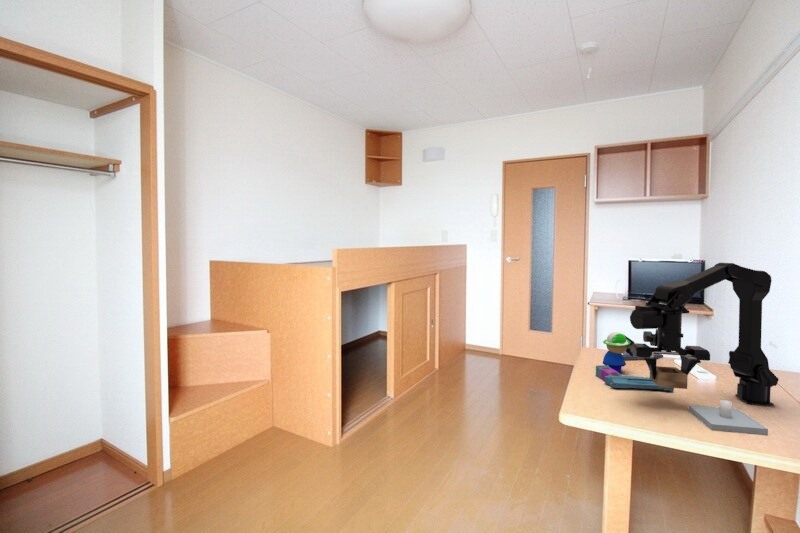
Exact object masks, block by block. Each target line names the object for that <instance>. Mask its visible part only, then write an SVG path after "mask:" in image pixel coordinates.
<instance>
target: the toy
mask: <svg viewBox="0 0 800 533" xmlns="http://www.w3.org/2000/svg"><path fill="white" fill-rule="evenodd" d="M602 342H603V344H604V345H606V349H607V350H608V351H607V352H606V353H605V354H604V356H603V360H602V365H609V367H610V368H612V369H614V370H616V371H618V372H619V374H621V375H622V368H623V367H626V366H627V362H626V360H625V358H624V355H623V353H627V354H629V356H631V357H632V358H633V356H634V354H633V353H632V352H630V346H631V345H632V344H633V343H635V341H634V340H632V339H631V338H629V337H628V336H626V335H625V334H623V333H620V332H618V331H616V332H611V333H609V334H608V335H607V337H606V339H604V340H603V341H602Z"/></svg>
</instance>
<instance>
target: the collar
mask: <svg viewBox="0 0 800 533" xmlns="http://www.w3.org/2000/svg"><path fill="white" fill-rule="evenodd" d="M688 376H689V374H688V375H686V374H685V373H684V372H682V371H681V369H679V368H677V367H674V366H661V365H660V366H659V365H656V378H655V380H654V379H653V378H652V376H651V373H650V372H649V377H650V379H651V380H652V381H653V382H654V383H655V384H656V385H658V386H659V387H666V388H674V389H680V390H681V389H682V390H683V389H684V390H688Z"/></svg>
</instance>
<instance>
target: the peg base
mask: <svg viewBox="0 0 800 533" xmlns="http://www.w3.org/2000/svg"><path fill="white" fill-rule="evenodd" d="M687 410H688V412H690V413H691V414H692V415H693V416H695V417H696V418H697V419H698V420H700V422H702V423H703V424H704V425H706V427H708V428H709V429H710V430H712V431H718V432H719V431H721V432H731V433H733V432H734V433H740V434H741V433H744V434H755V435H765V436H768V434H769V429H768V428H767V426H764V425H762V424H761V423H759V421H757V420H756V419H754V418H752V417H751V416H750V415H748V414H747V413H745V412H743V410H740V409H739V408H735V407H733V402H732V401H730V400H727V399H720V400H719V406H709V405H707V406H706V405H694V404H688V408H687Z"/></svg>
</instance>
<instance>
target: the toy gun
mask: <svg viewBox="0 0 800 533" xmlns="http://www.w3.org/2000/svg"><path fill="white" fill-rule="evenodd" d="M595 377H598V378H599V379H601V380H602V381H604V384H605V385H608V386H610V387H611V388H615V389H638V390H639V389H640V390H654V391H655V390H656V391H657V390H659V391H670V392H671V391H675V390H674V389H675V388H666V387H659V386H658V385H656V384H655V383H654V382H653V381H652V380H651V379H650V376H649V377H648V376H633V375H623V374H622V373H621V374H619V372H618V371H616V370H614V369H612V368H610V367H609V365H604V364H602V365H595Z"/></svg>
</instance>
